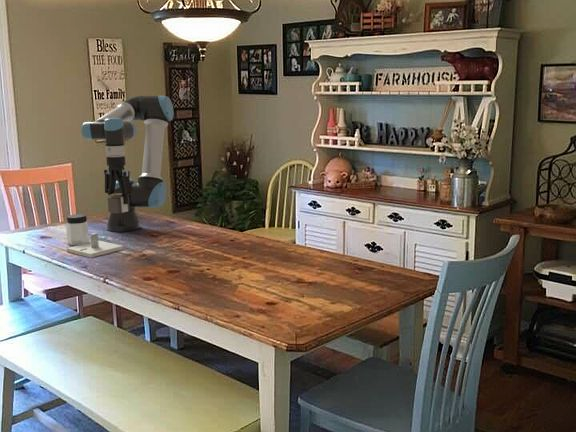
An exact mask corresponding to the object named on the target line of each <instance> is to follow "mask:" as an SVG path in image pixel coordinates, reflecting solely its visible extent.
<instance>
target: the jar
mask: <svg viewBox="0 0 576 432" xmlns="http://www.w3.org/2000/svg"><path fill="white" fill-rule="evenodd" d="M65 226H66V239H67V244H68V245H70V246H78V245H82V244H87V243H90V233H89V221H88V219H87V215H86V214H84V213H83V214H82V213H78V214H77V213H74V214H68V215H67V216H66V223H65Z"/></svg>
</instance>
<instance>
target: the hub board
mask: <svg viewBox="0 0 576 432" xmlns="http://www.w3.org/2000/svg"><path fill="white" fill-rule="evenodd" d="M89 239H90V242H89V243H86V244H82V245H73V246H71V247H66V252H67V253H71V254H75V255H79V256H84V257H87V258H94V257H98V256H102V255H106V254H110V253H113V252H119V251H122V250H124V246H123V245H120V244H117V243H112V242H108V241H103V240H99V233H97V232H93V233H89Z"/></svg>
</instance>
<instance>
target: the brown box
mask: <svg viewBox="0 0 576 432" xmlns="http://www.w3.org/2000/svg"><path fill="white" fill-rule="evenodd" d="M121 196H122V194H121V193H115V194H111V195H110V197H109V196H108V197H107V206H108V213H110V212H112V213H123V212H122V210H121ZM128 211H129V197H128Z"/></svg>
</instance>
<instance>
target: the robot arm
mask: <svg viewBox="0 0 576 432" xmlns="http://www.w3.org/2000/svg"><path fill="white" fill-rule="evenodd" d="M172 120H174V105H173V102H172V100H171V99H170V97H169V96H166V95H161V94H160V95H135V96H132V97H129V98H127V99H125V100H123V101H121V102H119V103H118V104H117V105H116V107H115V108H114V109H112V110H111V111H108V112H107V113H105V114H104V115H102V116H101V117H99V118H98V119H96V120H94V121H85V122H83V123H82V125H81V129H80V131H81V135H82V138H83V139H85V140H91V141H93V140H94V141H96V140H104V141H105V153H106V156H107V157H106V165H107V166H108V169H103V174H104V193H105V194H107V196H108V198H109V197H110V195H111V194H115V193H121V194H122V196H121V210H122V212H123V213H112V212H109V215H108V218H107V222H106V230H107V231H110V232H117V233H119V232H120V233H121V232H130V231H136V230H138V229H140V228H141V227H140V224H141V223H140V221H139V218H138V216H137V213H136V208H150V209H153V208H160V207H162V206H163V204H165V201H166V198H167V193H168V190H167V189H168V187H167V184H166V183H165V182H164V179H163V178H162V177H161V172H162V171H161V170H162V163H163V162H162V160H163V148H164V140H165V139H164V138H165V129H166V128H167V127H168V126H169V122H171V121H172ZM133 121H143V124H144V125H145V136H144V146H143V156H142V158H143V159H142V168H141V175H139V176H138V177H137V182H136V181H134V179H133V178H130V176H131V172H130V170H128V171H127V170H126V169H125V166H126V156H125V155H126V151H125V150H126V148H125V140H130V139H133V138H134V137H135V136H136V134H137V127H136V125H135V124H134V123H133ZM128 197H129V211H128Z"/></svg>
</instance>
